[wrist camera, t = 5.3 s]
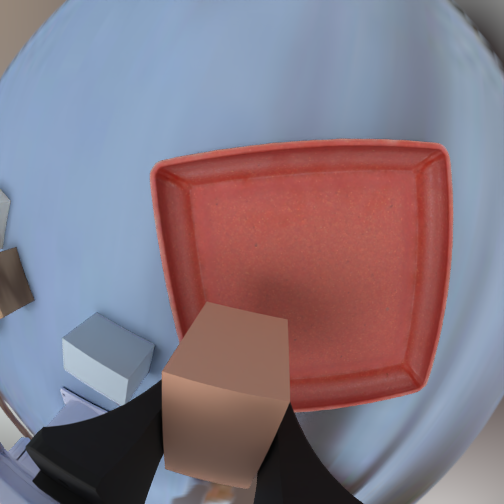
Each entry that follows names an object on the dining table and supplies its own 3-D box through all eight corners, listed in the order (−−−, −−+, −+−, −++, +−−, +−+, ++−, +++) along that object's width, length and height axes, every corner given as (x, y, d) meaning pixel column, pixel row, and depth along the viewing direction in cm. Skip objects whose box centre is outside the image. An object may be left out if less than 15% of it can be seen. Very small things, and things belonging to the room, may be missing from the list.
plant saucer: (412, 369, 19) (426, 392, 16) (208, 389, 21) (198, 414, 18) (424, 148, 15) (449, 143, 12) (168, 166, 17) (146, 162, 14)
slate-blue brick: (155, 343, 20) (128, 379, 15) (148, 372, 21) (124, 407, 16) (97, 311, 20) (62, 337, 15) (94, 341, 21) (63, 369, 16)
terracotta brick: (258, 412, 13) (248, 489, 8) (194, 398, 13) (165, 468, 8) (287, 319, 11) (290, 401, 6) (206, 301, 11) (162, 371, 6)
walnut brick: (35, 299, 21) (3, 317, 16) (22, 305, 22) (-7, 321, 17) (16, 246, 20) (-17, 257, 15) (5, 256, 21) (-26, 267, 16)
